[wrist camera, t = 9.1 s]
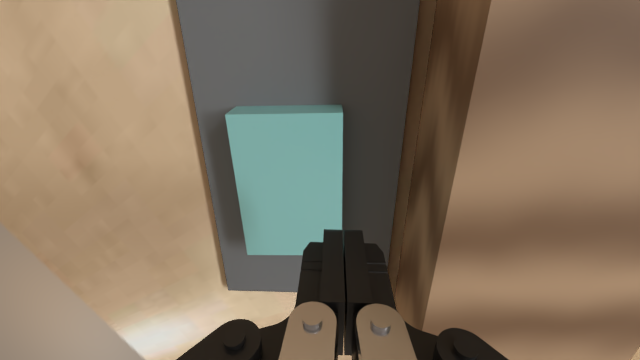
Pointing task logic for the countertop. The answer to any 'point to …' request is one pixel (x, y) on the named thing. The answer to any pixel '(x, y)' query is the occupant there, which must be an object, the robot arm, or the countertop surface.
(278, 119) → the block
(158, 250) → the countertop surface
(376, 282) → the robot arm
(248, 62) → the mat
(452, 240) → the brown wooden block
